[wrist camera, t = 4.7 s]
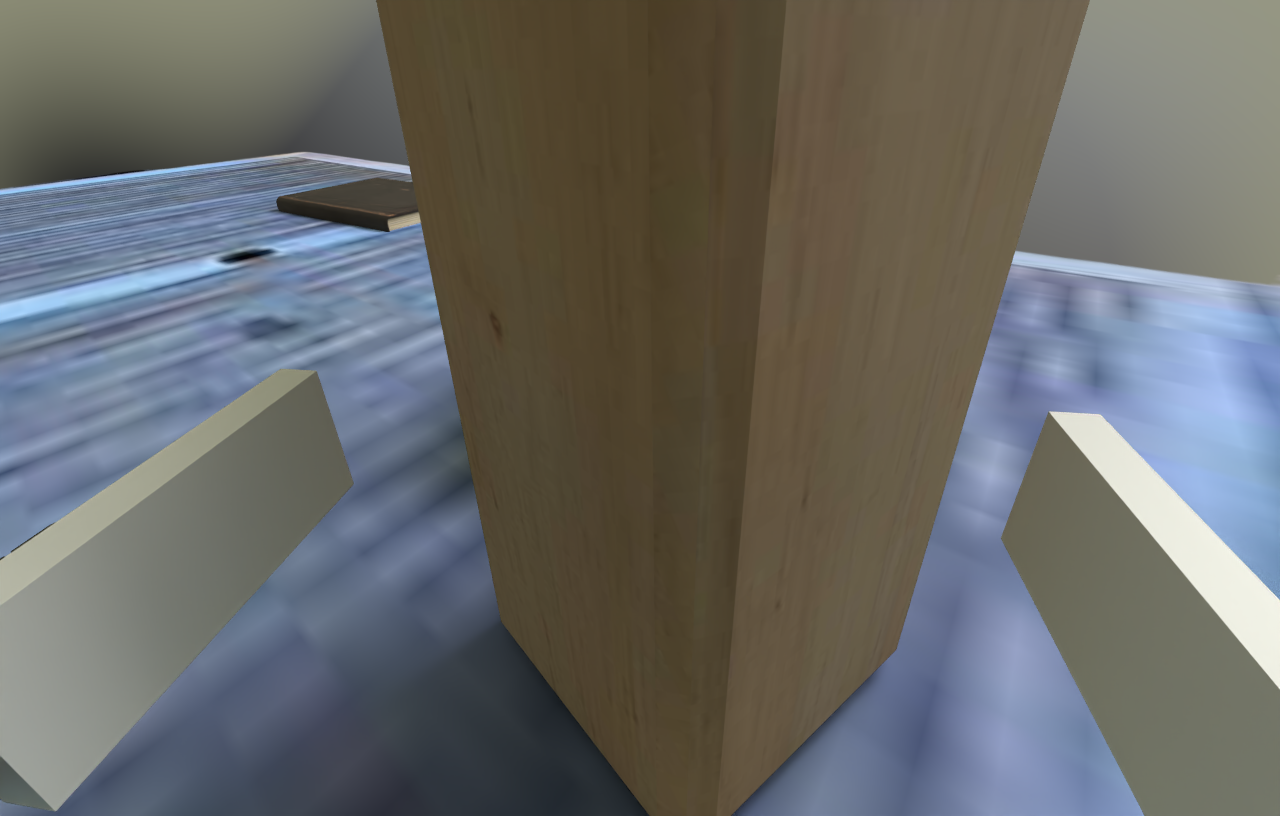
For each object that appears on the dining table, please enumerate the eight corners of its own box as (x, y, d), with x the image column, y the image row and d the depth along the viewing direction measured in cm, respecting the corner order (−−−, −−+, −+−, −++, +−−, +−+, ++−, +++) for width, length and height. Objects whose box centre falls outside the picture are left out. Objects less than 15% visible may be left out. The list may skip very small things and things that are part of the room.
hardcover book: (380, 193, 93) (377, 177, 91) (488, 209, 82) (486, 191, 80) (279, 215, 81) (274, 197, 80) (389, 237, 70) (384, 216, 69)
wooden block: (491, 623, 21) (334, -113, 11) (696, 504, 27) (717, -66, 16) (683, 881, 15) (730, -389, 4) (906, 653, 20) (1160, -156, 10)
